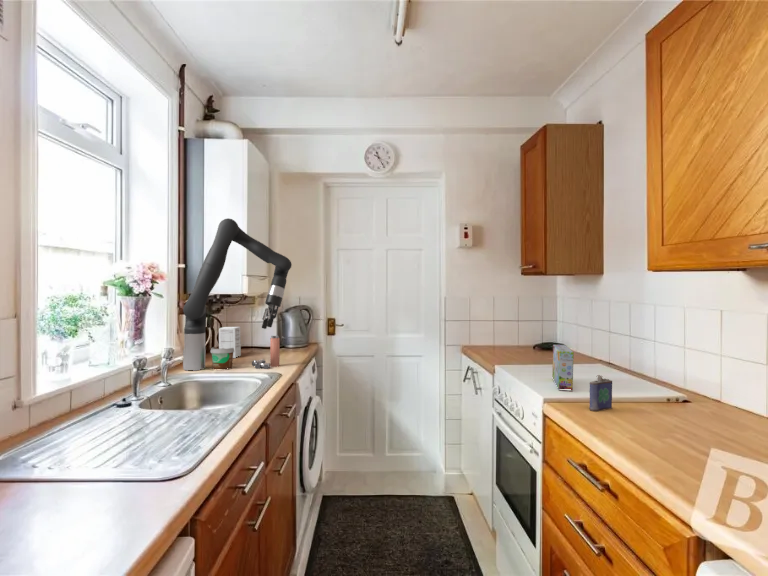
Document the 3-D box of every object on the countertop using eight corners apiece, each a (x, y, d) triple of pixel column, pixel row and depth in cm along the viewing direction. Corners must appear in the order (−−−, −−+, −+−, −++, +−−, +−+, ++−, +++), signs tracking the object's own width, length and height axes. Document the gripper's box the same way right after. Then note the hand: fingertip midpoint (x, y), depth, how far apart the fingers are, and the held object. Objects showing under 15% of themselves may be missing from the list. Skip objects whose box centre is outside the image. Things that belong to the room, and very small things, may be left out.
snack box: (574, 392, 153) (574, 351, 153) (558, 391, 155) (558, 351, 155) (565, 380, 174) (565, 344, 174) (551, 379, 175) (551, 343, 175)
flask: (594, 412, 128) (594, 377, 128) (586, 409, 131) (586, 375, 131) (614, 408, 132) (614, 375, 132) (606, 406, 135) (605, 373, 135)
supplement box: (241, 355, 237) (241, 326, 238) (235, 358, 228) (235, 328, 228) (224, 355, 237) (224, 326, 237) (218, 358, 228) (218, 328, 228)
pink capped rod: (268, 366, 204) (268, 336, 204) (274, 364, 208) (274, 335, 208) (275, 367, 202) (275, 336, 202) (281, 365, 206) (281, 335, 206)
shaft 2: (254, 368, 199) (254, 362, 199) (257, 367, 202) (257, 361, 202) (267, 369, 198) (267, 362, 198) (270, 367, 201) (270, 361, 201)
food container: (204, 369, 196) (204, 348, 196) (213, 367, 202) (213, 346, 202) (226, 370, 193) (226, 349, 193) (234, 368, 199) (234, 347, 199)
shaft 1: (256, 366, 204) (256, 360, 204) (251, 366, 205) (251, 360, 205) (265, 364, 210) (265, 358, 210) (260, 364, 211) (260, 358, 211)
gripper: (263, 296, 208) (254, 327, 203) (272, 291, 196) (263, 324, 191) (277, 300, 212) (269, 331, 207) (287, 296, 200) (278, 328, 195)
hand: (266, 327), depth 199 cm, fingers open, 8 cm apart
